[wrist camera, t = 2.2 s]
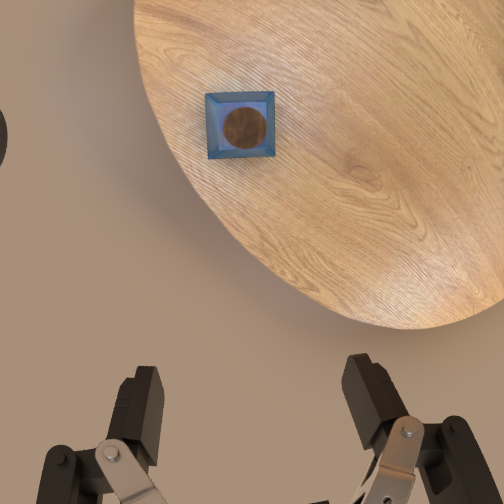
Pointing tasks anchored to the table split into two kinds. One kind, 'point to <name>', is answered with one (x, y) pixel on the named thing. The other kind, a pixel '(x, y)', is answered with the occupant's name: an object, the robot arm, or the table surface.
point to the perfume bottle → (240, 124)
